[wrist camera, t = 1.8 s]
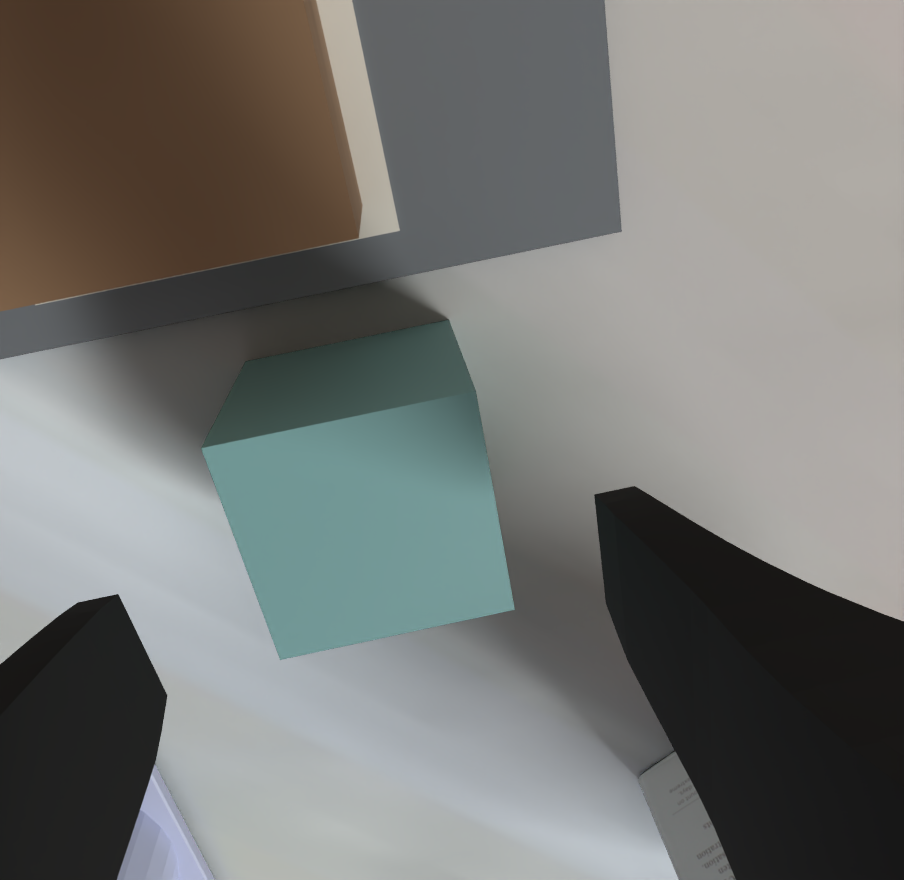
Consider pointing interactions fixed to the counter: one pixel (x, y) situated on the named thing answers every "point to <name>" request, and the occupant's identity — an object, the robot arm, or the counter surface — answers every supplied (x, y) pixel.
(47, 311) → the mat
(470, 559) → the teal block
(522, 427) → the counter surface
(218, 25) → the walnut block
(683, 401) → the counter surface
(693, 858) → the small box
